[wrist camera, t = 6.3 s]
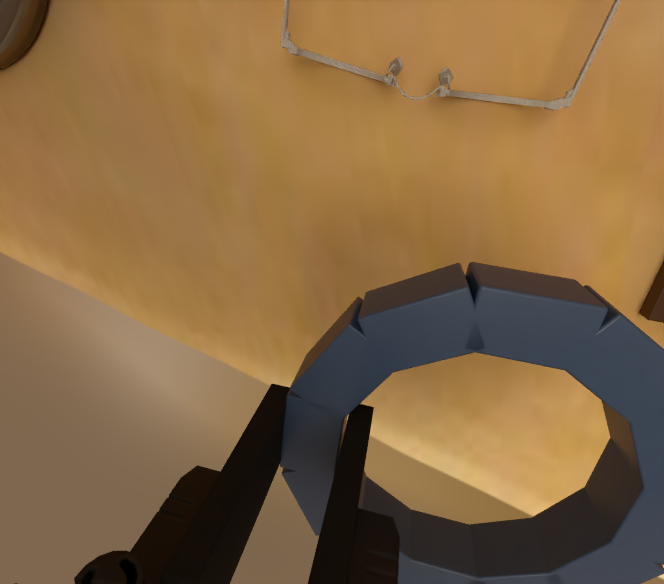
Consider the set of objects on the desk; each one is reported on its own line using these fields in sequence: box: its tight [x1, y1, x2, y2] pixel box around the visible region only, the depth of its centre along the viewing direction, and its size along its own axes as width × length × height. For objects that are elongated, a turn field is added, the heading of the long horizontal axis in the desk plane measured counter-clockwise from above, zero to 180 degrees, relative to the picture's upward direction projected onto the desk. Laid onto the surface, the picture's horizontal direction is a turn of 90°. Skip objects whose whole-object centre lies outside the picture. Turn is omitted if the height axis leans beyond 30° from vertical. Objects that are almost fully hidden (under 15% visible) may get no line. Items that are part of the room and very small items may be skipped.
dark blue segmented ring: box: [280, 262, 664, 584], centre depth 13 cm, size 13×13×2 cm
